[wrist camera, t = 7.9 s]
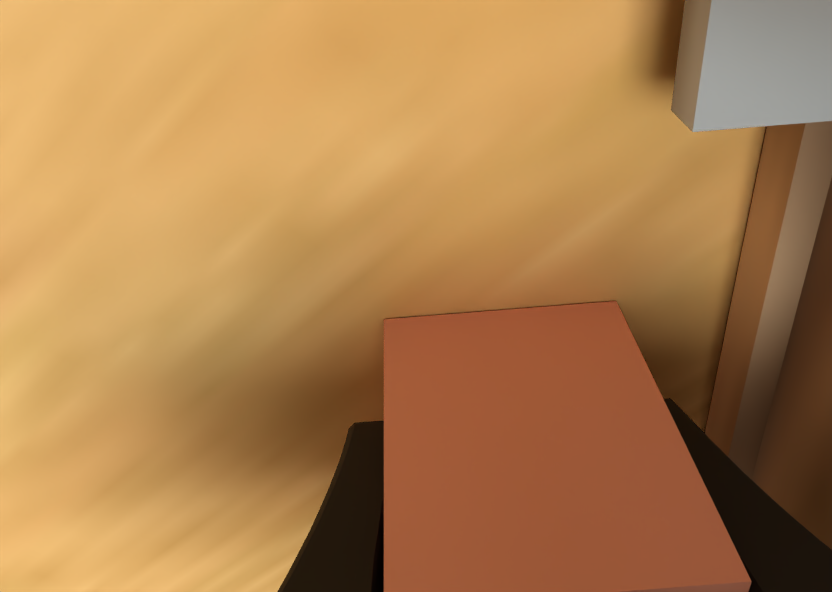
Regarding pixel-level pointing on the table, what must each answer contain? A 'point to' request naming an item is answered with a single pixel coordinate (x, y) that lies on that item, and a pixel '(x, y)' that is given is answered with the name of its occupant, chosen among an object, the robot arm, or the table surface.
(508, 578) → the block
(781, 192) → the jig
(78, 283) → the table surface
